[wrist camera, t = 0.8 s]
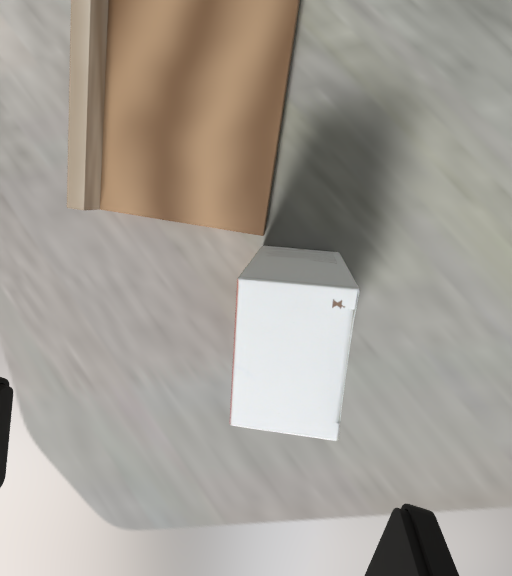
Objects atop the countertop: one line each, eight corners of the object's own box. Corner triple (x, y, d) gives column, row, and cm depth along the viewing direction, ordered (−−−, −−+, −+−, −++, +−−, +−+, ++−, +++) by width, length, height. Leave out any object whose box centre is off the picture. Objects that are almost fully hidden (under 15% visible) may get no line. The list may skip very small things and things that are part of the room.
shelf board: (301, -10, 23) (300, -39, 20) (264, 234, 27) (259, 239, 24) (97, -31, 24) (69, -62, 22) (88, 205, 28) (64, 207, 25)
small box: (262, 243, 27) (235, 272, 17) (341, 251, 27) (362, 285, 17) (253, 348, 29) (225, 428, 19) (327, 356, 29) (339, 445, 19)
